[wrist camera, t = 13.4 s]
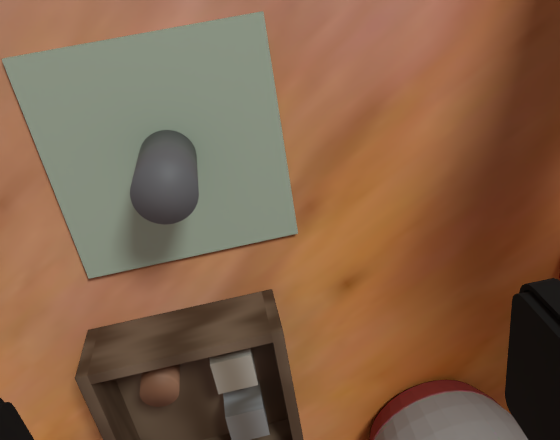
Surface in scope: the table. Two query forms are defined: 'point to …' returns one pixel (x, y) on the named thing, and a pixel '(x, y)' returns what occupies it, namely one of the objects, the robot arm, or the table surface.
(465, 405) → the citrus juicer
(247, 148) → the lid
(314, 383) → the table surface
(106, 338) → the box
